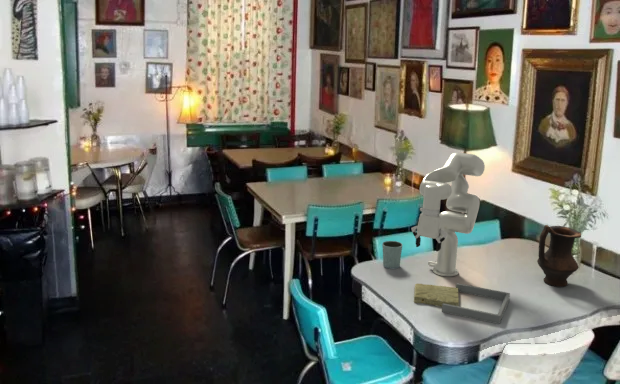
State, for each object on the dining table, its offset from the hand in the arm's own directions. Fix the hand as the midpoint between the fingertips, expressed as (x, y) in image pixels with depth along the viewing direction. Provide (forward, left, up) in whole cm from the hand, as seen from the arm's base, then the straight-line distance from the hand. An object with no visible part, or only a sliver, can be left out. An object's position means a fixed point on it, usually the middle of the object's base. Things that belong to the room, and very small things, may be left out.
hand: (427, 248), depth 281 cm
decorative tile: (+7, -5, -22) cm, 23 cm away
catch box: (+25, -5, -21) cm, 33 cm away
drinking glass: (-24, +24, -21) cm, 40 cm away
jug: (+53, +41, -21) cm, 70 cm away
